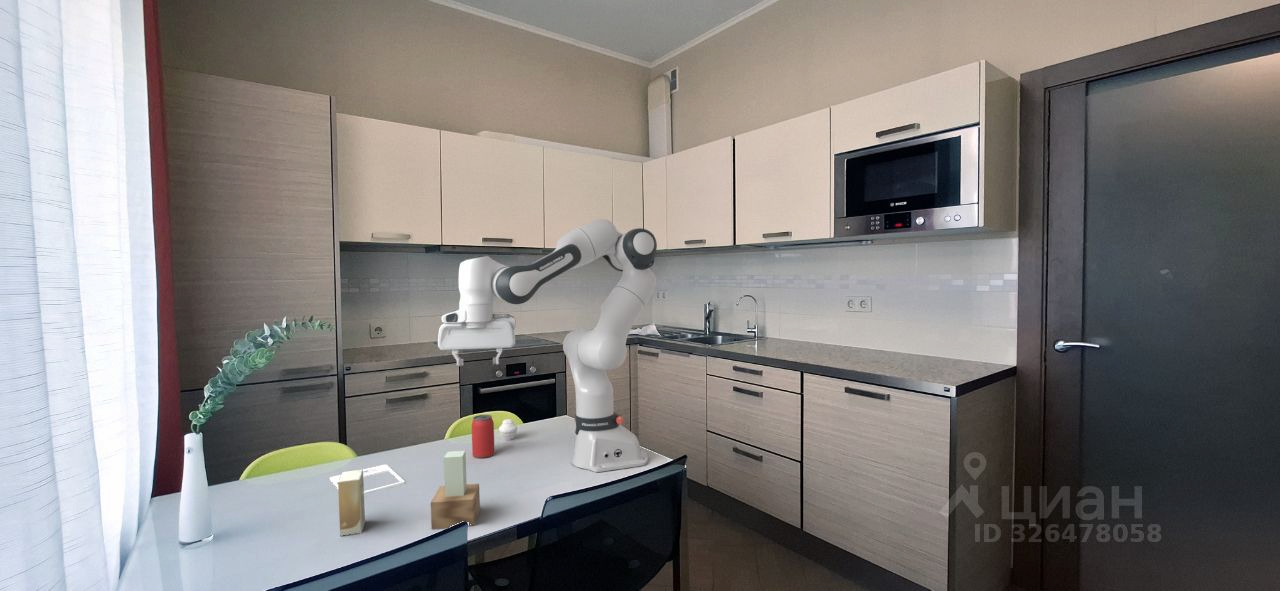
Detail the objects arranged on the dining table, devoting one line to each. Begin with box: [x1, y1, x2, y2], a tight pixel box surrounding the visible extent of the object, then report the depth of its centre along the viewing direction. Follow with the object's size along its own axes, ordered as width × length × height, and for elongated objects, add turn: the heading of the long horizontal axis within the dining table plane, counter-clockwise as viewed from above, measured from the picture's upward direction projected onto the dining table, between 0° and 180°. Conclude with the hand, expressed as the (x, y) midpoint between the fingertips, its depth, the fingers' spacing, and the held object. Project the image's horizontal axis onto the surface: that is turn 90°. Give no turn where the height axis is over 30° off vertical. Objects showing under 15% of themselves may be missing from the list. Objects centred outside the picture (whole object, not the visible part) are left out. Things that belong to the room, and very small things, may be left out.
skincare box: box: [337, 469, 366, 537], centre depth 118 cm, size 6×4×12 cm
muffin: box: [498, 418, 518, 441], centre depth 180 cm, size 6×6×7 cm
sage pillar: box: [443, 450, 467, 497], centre depth 122 cm, size 4×4×9 cm
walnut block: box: [430, 483, 481, 530], centre depth 122 cm, size 9×9×6 cm
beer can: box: [471, 414, 496, 459], centre depth 165 cm, size 7×7×12 cm
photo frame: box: [329, 463, 406, 495], centre depth 146 cm, size 15×1×18 cm
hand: (478, 365), depth 146 cm, fingers open, 8 cm apart
